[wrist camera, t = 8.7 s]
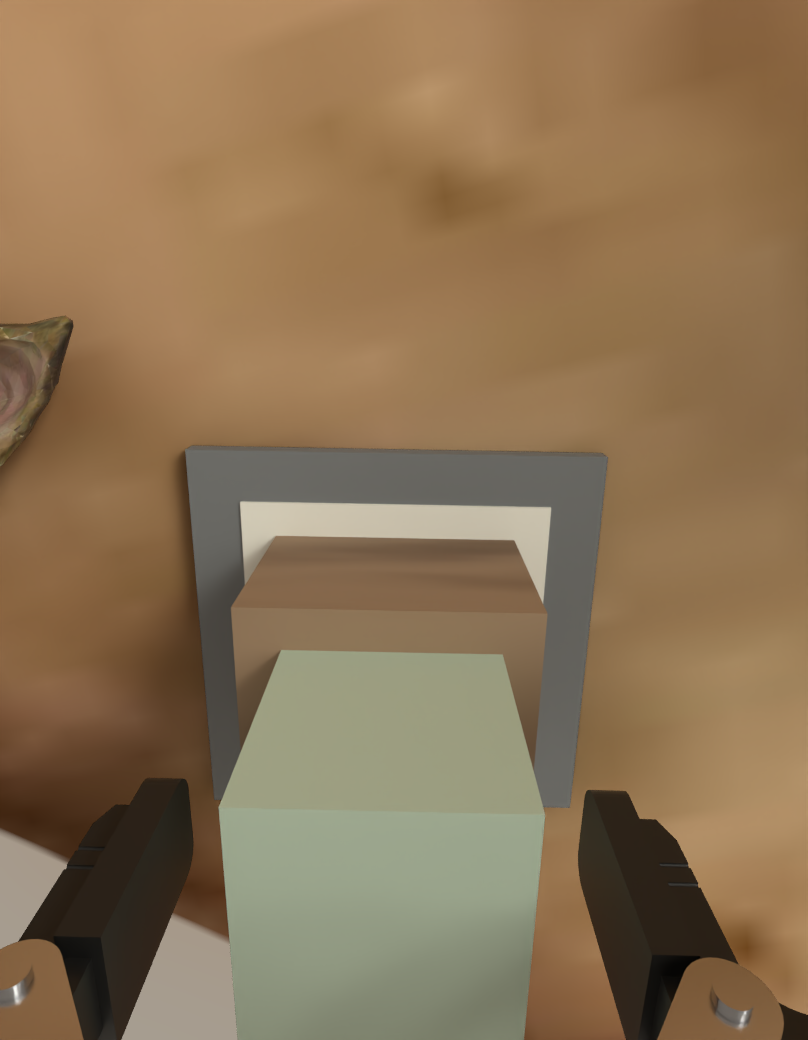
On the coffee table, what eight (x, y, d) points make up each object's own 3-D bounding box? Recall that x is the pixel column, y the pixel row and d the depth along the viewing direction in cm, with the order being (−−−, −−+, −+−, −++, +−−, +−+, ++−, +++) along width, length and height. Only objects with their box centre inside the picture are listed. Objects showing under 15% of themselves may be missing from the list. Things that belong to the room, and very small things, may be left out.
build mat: (191, 445, 19) (183, 450, 19) (602, 453, 19) (608, 458, 19) (219, 787, 23) (213, 801, 22) (565, 795, 23) (570, 809, 22)
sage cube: (280, 650, 15) (218, 807, 10) (503, 654, 15) (545, 815, 10) (289, 830, 16) (237, 1042, 12) (490, 835, 16) (522, 1049, 12)
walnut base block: (276, 535, 19) (231, 607, 15) (514, 540, 19) (547, 613, 15) (284, 739, 21) (247, 861, 17) (500, 744, 21) (525, 867, 17)
